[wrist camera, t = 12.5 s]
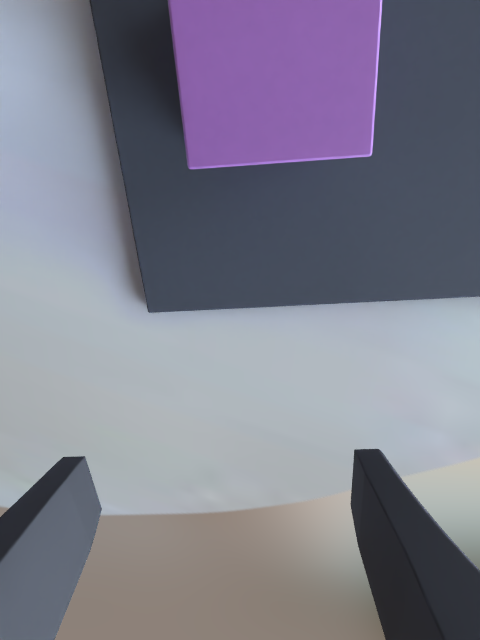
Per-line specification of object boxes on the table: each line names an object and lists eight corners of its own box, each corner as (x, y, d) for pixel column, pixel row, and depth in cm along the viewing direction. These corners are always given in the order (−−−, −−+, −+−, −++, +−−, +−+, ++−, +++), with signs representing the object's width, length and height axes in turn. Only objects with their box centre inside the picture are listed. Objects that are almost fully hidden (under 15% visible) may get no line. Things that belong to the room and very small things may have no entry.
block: (207, 155, 16) (187, 170, 11) (191, -7, 13) (158, -70, 9) (338, 145, 15) (372, 156, 11) (344, -22, 13) (389, -96, 9)
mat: (150, 308, 19) (147, 313, 19) (77, -87, 13) (71, -95, 13) (597, 286, 18) (605, 290, 17) (749, -166, 12) (769, -177, 11)
